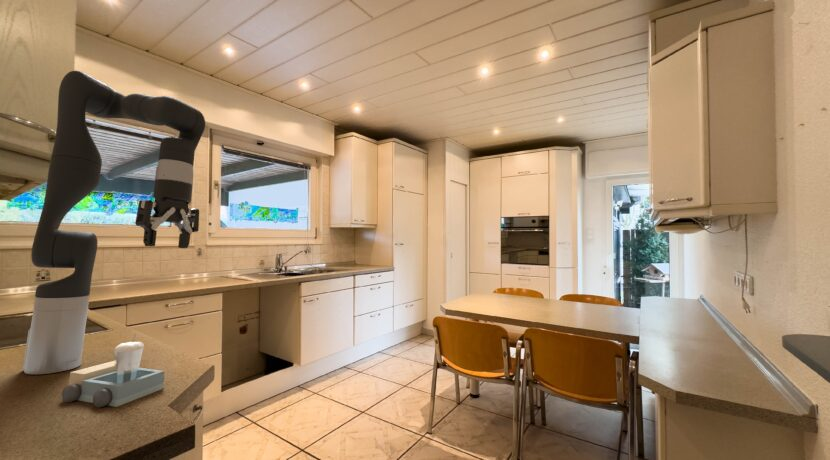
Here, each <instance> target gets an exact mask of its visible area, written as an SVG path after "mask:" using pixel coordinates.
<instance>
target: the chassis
mask: <svg viewBox="0 0 830 460" xmlns="http://www.w3.org/2000/svg"><path fill="white" fill-rule="evenodd" d="M114 368H115V360H112V361H108V362H105V363H101V364H96V365H93V366H88V367H85V368H81V369H78V370H75V371H74V370H73V371H70V373H69V381H68V385H67V386H64V387H63V389H62V391H61V397H62V400H63V402H65V403H71V402H73V401H80V402H86V403H92V404H93V405H94V407H95V408H103V407H105V406H109V407H115V408H117V407H120V406H122V405H124V404H128V403H130V402H133V401H136V400H139V399H140V398H142V397H146V396H149V395H151V394H153V393H156V392H159V391H162V390H163V387H164V381H165V370H159V369H152V368H144V367H139V370H138V375H137V378H136V379H133V380H130V381H127V382H124V383H121V384H119V383H114Z"/></svg>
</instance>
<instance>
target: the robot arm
mask: <svg viewBox="0 0 830 460" xmlns="http://www.w3.org/2000/svg"><path fill="white" fill-rule="evenodd" d="M57 101H58V102H57V122H56V131H55V135H54V136H55V137H54V142H53V148H52V152H51V154H50V160H49V161H50V162H49V167H48V173H47V181H46V188H45V194H44V195H45V196H44V200H43V205H42V209H41V214H40V216H39V220H38V224H37V228H36V231H35V235H34V238H33V243H32V247H31V255H30V256H31V257H30V258H31V263H32V264H33V265H34V266H35V267H37V268H49V269H74V270H73V273H72V274H70V275H68V276H65V277H62V278H59V279H57V280H52V281H49V282H44V283H40V284H39V285H37V287H36V288H35V294H34V296H35V297H34V302H33V308H32V310H33V311H32V317H31V322H30V323H31V324H30V328H28V330H27V331H28V332H27V339H26V345H25V352H24V360H23V366H22V370H23V373H24V374H25V375H45V374H54V373H59V372H64V371H70V370H73V369H76V368H78V367H80V366H81V364H82V357H83V356H82V355H83V349H84V342H85V336H86V335H85V334H86V327H87V326H86V325H87V318H88V312H89V311H88V310H89V303H90V294H91V285H92V279H93V269H94V266H95V261H96V257H97V256H96V255H97V252H98V238H97V235H96V234H95V233H94V232H91V231H80V230H79V231H76V230H64V229H63V230H60V229H59V228H60V226H61V223H62V221H63V220H64V218H65V217H66V216H67V214H68V213H69V212H70V211H71V210H72V209H73V208H74V207H75V206H77V204H78V203H80V202H82V200H83V199H85V198H86V197H87V196H89V194H91V193H92V192H94V190H95V189H96V188H97V187H98V186H99V183H100V179H101V173H102V167H103V160H102V156H101V154H100V151H99V148H98V147H97V145H96V143H95V141H94V139H93V138H92V135H91V134H90V131H89V129H88V125H87V121H86V113H87V114H89V115H92V116H95V117H97V118H103V119H126V120H127V119H128V120H133V121H136V122H142V123H145V124H149V125H154V126H160V127H161V126H165V127H168V128H171V129H172V130H175V131H177V132H179V133H178V136H177V137H176V136H175V137H173V136H172V137H171V136H168V137H167V136H166V137H164V138H162V139H161V141H160V144H159V145H160V146H159V152H158V161H157V166H156V168H155V176H154V186H153V193H152V197H153V199H154V200H153V199H152V200H151V199H140V200H139V201H138V205H137V210H136V217H135V223H134V224H135V226H137V227H140V228H142V229H143V240H142V242H143V245H144V246H145V247H150V248H151V247H155V246H156V241H157V231H158V230H157V228H159V226H160V225H162V224H164V223H172V224H174V225H175V226H176V227H177V228H178V229H179V232H180V233H179V237H178V247H177V248H178V249H188V248H189V247H190V239H191V234H193V233H197V232H198V231H199V227H200V226H199V225H200V224H199V223H200V209H198V208H190V207H189V203H190V202H191V201H192V194H193V185H194V174H195V173H194V161H195V152H196V149H197V147H198V146H199V145H198V144H200V143H199V142H200V141H201V138H202V137H203V133H204V131H205V128H206V119H205V116H204V114H203V113H202V111H200V110H199V109H197V108H195V107H193V106H191V105H189V104H188V103H185V102H183V101H181V100H180V99H178V98H175V97H172V96H168V95H161V96H154V95H149V94H148V95H147V94H144V93H130V94H127V95H125V94H122V93H120V92H118V91H116V90H115V89H114V88H113V87H111V86H109V85H108V84H106V83H104V82H102V81H100V80H99V79H97V78H95V77H93V76H91V75H89V74H87V73H85V72H83V71H79V70H71V71H69V72H67V73H66V74H65V75H64V76H63V78H62V80H61V82H60V85H59V89H58V98H57ZM152 211H153V212H154V213H152Z"/></svg>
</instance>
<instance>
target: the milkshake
mask: <svg viewBox="0 0 830 460" xmlns="http://www.w3.org/2000/svg"><path fill="white" fill-rule="evenodd" d="M136 338H137V334H133V335H132V339H131V340H132V341H128V342H121V343H120V344H118V345H117V346H115V347H114V361H115V368H114V383H119V384H121V383H124V382H127V381H130V380H133V379H136V378H137V375H138V370H139V368H140V364H141V359H142V357H143V356H142V355H143V350H144V346H145V344H144V343H143V342H142V341H136Z"/></svg>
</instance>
